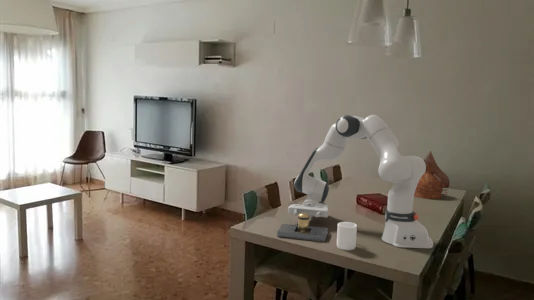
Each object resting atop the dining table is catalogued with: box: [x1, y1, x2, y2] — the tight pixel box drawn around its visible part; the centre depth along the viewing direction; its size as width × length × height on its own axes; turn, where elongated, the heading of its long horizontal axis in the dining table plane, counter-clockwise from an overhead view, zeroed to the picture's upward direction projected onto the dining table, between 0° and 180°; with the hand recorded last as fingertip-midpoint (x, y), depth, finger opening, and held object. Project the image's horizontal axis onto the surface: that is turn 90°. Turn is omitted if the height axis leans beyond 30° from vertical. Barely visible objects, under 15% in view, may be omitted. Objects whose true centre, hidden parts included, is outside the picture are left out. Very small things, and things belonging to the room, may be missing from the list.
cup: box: [336, 221, 358, 251], centre depth 192 cm, size 8×12×10 cm
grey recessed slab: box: [276, 223, 329, 242], centre depth 205 cm, size 22×12×2 cm, turn 76°
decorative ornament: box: [414, 151, 450, 200], centre depth 286 cm, size 26×19×30 cm
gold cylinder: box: [297, 213, 310, 233], centre depth 204 cm, size 5×5×10 cm
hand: (306, 215), depth 213 cm, fingers open, 8 cm apart
